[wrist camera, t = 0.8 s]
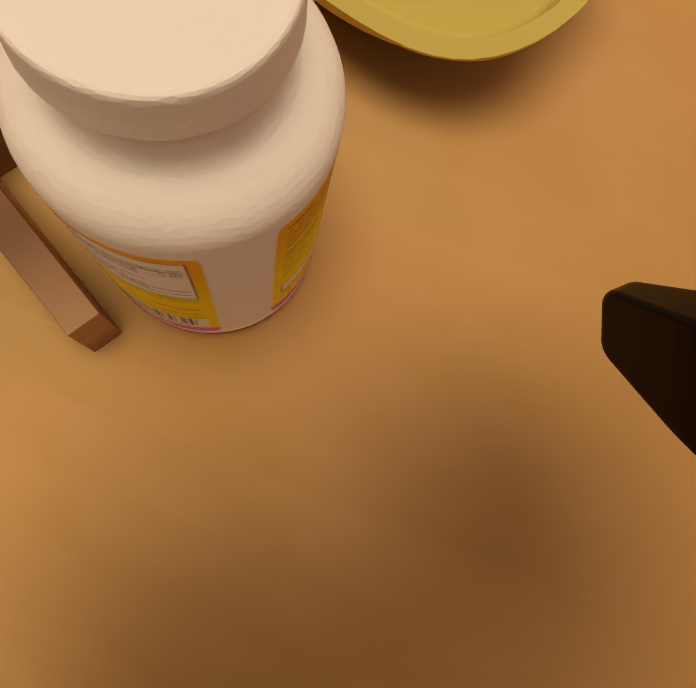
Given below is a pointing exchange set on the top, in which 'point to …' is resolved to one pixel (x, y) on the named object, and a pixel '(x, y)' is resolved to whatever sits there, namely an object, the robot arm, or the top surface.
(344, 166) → the top surface
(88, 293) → the walnut holder rail
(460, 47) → the plastic component
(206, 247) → the supplement bottle
